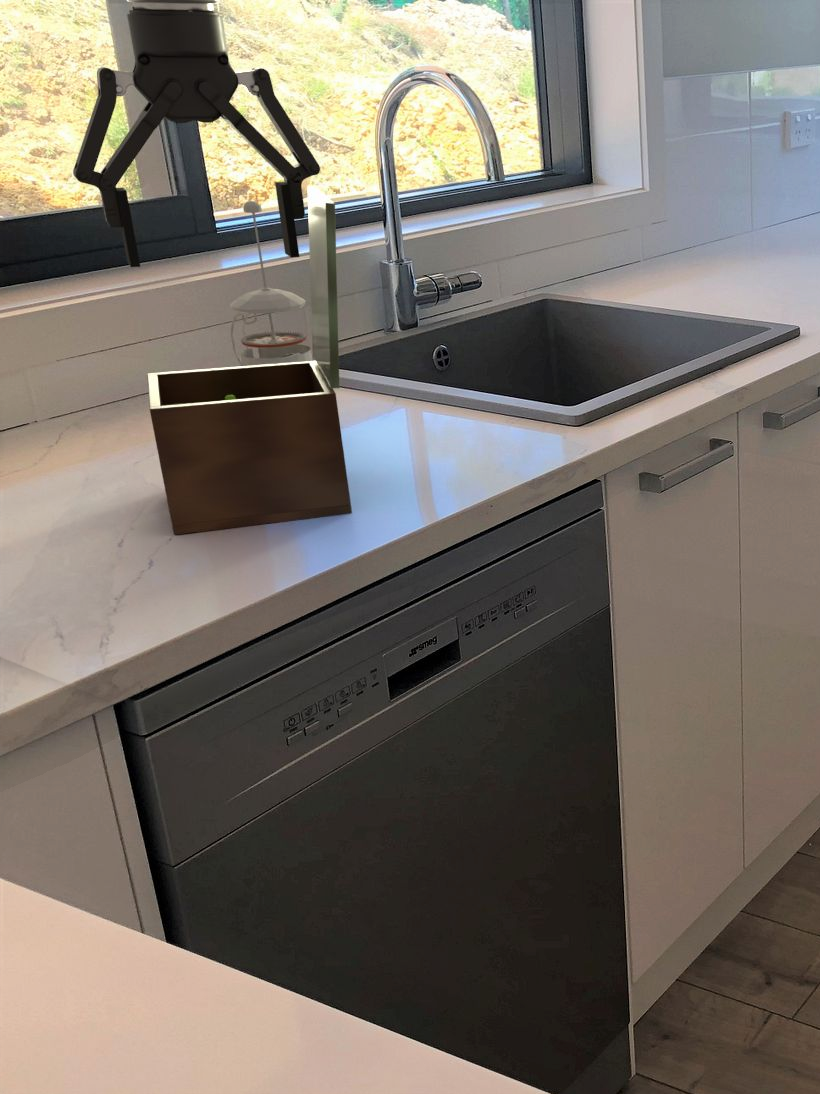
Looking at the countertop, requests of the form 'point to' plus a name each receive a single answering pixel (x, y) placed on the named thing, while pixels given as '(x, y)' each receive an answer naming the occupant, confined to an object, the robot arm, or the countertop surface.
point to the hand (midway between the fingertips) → (215, 260)
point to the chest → (248, 445)
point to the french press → (270, 301)
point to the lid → (323, 284)
